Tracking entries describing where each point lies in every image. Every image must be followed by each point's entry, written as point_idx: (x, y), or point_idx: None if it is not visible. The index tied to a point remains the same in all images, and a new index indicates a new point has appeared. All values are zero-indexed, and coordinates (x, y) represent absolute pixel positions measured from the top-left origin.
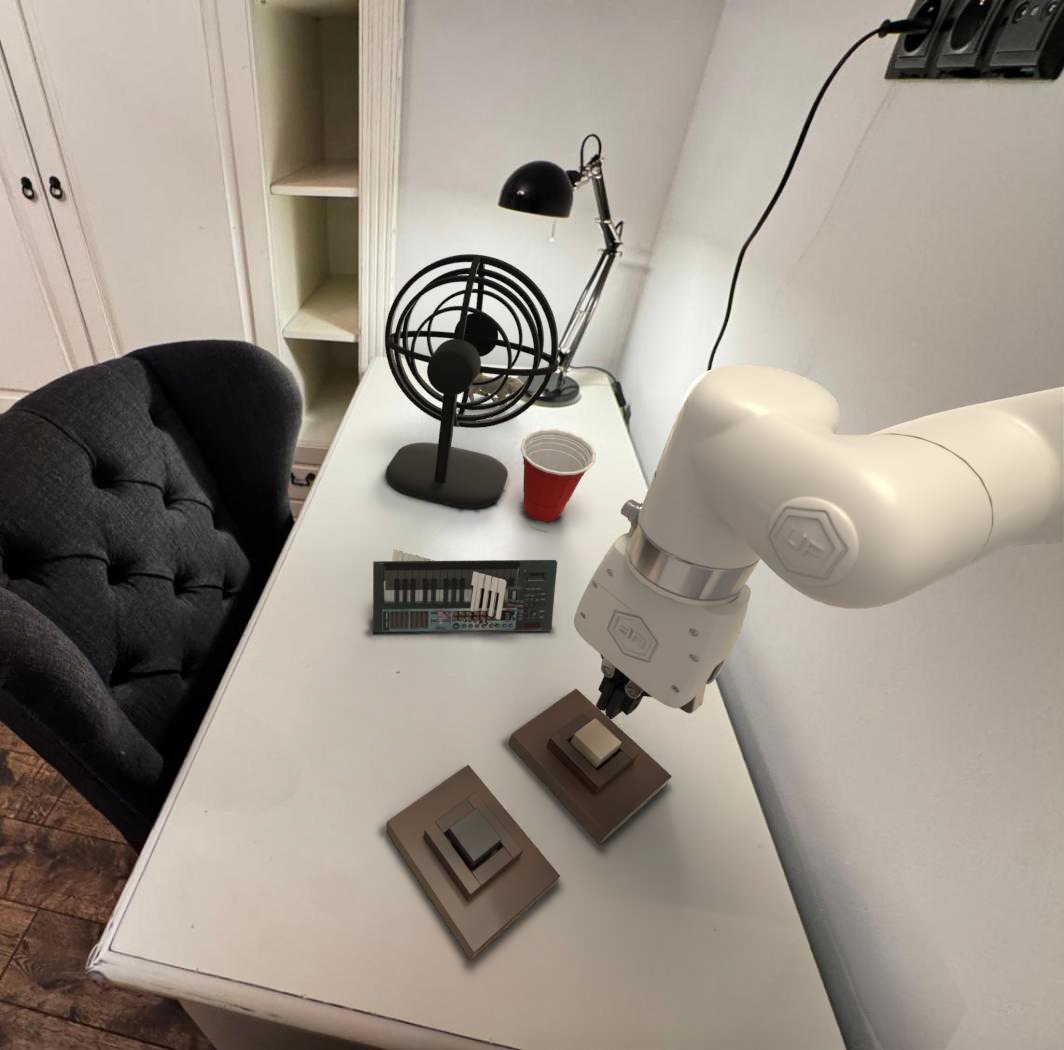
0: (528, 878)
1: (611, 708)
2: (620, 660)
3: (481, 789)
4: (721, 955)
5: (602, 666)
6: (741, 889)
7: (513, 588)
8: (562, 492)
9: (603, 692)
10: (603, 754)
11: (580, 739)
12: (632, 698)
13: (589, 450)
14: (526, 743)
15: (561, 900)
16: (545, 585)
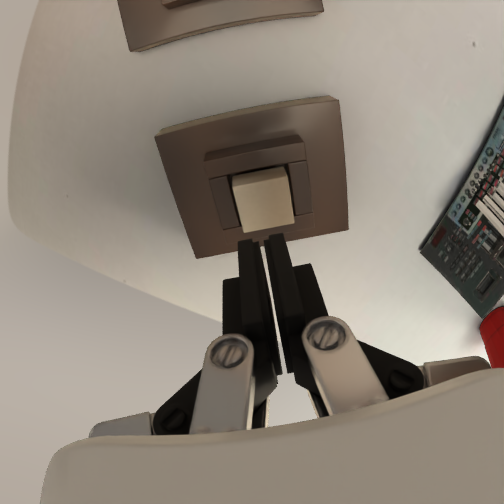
0: (142, 10)
1: (247, 262)
2: (296, 491)
3: (279, 5)
4: (50, 188)
5: (347, 334)
6: (93, 241)
7: (500, 249)
8: (499, 352)
9: (289, 274)
10: (237, 196)
11: (274, 179)
12: (227, 330)
13: None
14: (315, 109)
15: (123, 52)
16: (469, 285)
